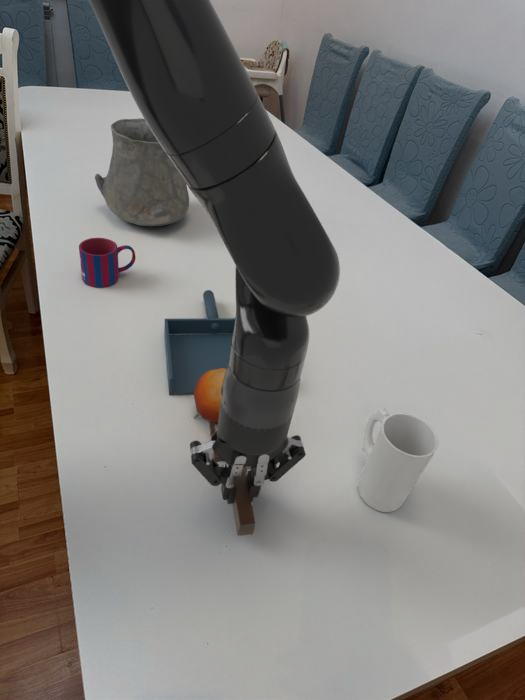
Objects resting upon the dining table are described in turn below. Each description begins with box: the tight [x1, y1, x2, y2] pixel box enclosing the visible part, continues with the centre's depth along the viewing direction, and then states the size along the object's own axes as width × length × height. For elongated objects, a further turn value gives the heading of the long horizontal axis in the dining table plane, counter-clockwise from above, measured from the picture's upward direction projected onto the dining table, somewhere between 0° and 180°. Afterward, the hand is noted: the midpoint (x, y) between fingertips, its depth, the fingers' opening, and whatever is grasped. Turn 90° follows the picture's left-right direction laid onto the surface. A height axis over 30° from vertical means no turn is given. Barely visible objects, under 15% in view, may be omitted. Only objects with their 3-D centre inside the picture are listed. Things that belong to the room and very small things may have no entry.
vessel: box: [94, 117, 190, 227], centre depth 110 cm, size 22×22×20 cm
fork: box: [208, 420, 256, 537], centre depth 63 cm, size 16×5×2 cm, turn 11°
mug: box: [357, 406, 439, 513], centre depth 64 cm, size 10×7×12 cm, turn 23°
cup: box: [78, 237, 136, 288], centre depth 93 cm, size 7×10×7 cm
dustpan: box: [163, 289, 235, 396], centre depth 84 cm, size 24×17×3 cm
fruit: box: [193, 368, 226, 424], centre depth 71 cm, size 8×8×8 cm
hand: (239, 496), depth 61 cm, fingers closed on fork, 2 cm apart
